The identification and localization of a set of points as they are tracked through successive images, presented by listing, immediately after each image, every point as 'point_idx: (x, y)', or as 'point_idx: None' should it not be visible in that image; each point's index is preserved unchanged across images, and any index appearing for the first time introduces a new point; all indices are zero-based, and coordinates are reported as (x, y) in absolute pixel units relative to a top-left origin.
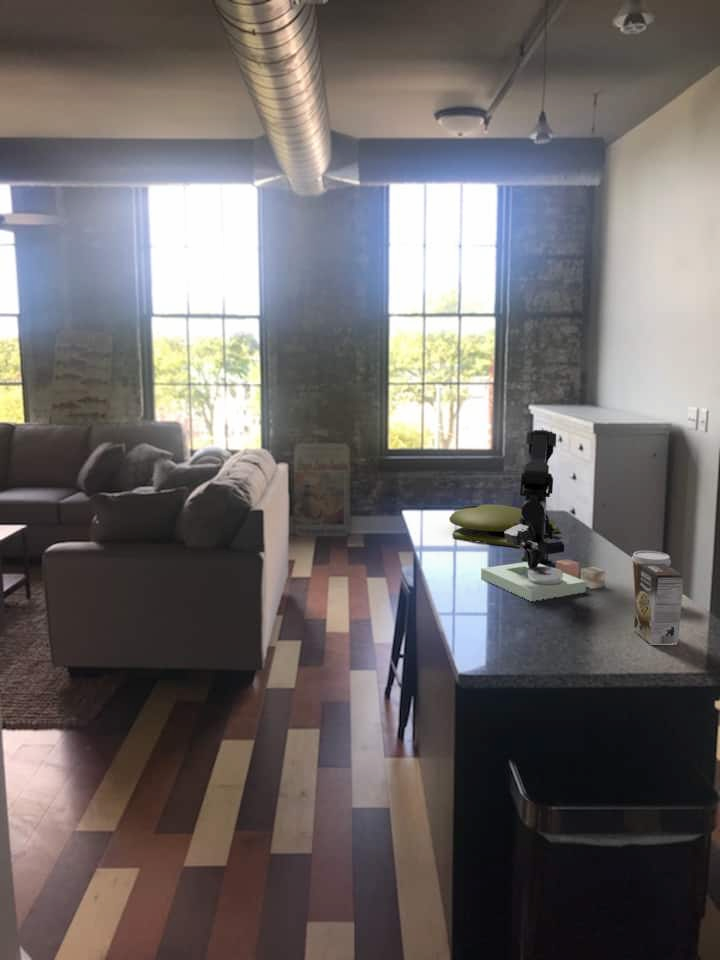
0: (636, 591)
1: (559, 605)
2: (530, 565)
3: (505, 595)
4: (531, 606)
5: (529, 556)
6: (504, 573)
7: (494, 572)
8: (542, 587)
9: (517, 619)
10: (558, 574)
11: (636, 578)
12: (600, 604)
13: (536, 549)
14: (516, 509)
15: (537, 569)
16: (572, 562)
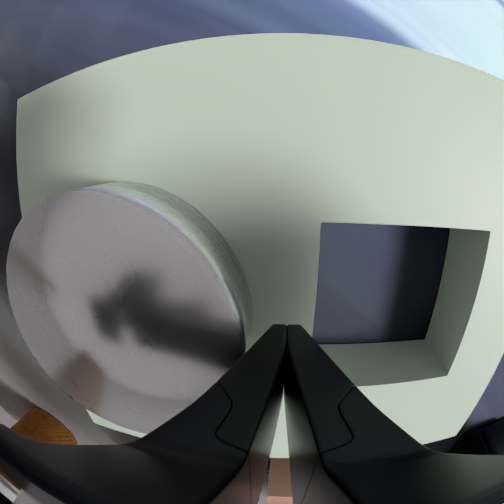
0: (36, 427)
1: (9, 200)
2: (276, 348)
3: (187, 18)
4: (29, 82)
5: (303, 428)
6: (422, 133)
7: (466, 88)
8: (28, 188)
9: (3, 9)
10: (34, 347)
11: None
12: (16, 330)
13: (27, 495)
14: None
15: (154, 327)
16: None
